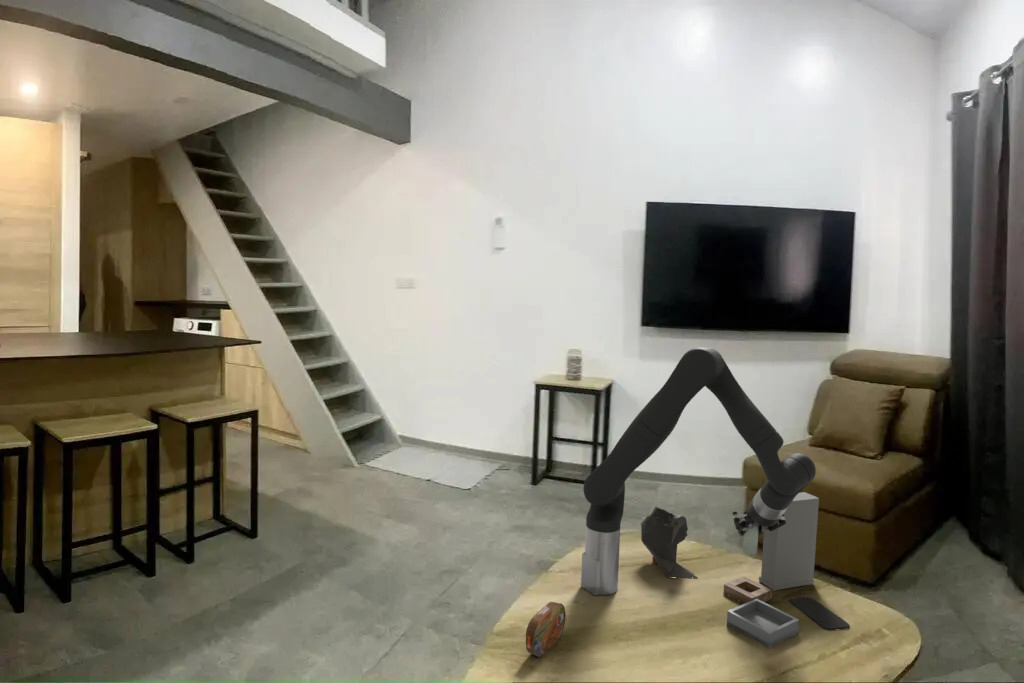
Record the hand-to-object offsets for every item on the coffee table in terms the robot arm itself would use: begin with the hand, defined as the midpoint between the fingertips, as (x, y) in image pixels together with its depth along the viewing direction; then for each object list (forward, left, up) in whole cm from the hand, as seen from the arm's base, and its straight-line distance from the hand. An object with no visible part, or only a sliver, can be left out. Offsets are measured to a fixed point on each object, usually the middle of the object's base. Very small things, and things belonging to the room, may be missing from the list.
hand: (748, 532), depth 166 cm
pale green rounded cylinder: (-1, -2, -5) cm, 5 cm away
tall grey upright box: (+15, -3, -17) cm, 23 cm away
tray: (-12, -14, -17) cm, 25 cm away
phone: (+7, -17, -17) cm, 25 cm away
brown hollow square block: (-1, -2, -17) cm, 17 cm away
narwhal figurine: (-7, +22, -17) cm, 29 cm away
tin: (-61, +8, -17) cm, 64 cm away
